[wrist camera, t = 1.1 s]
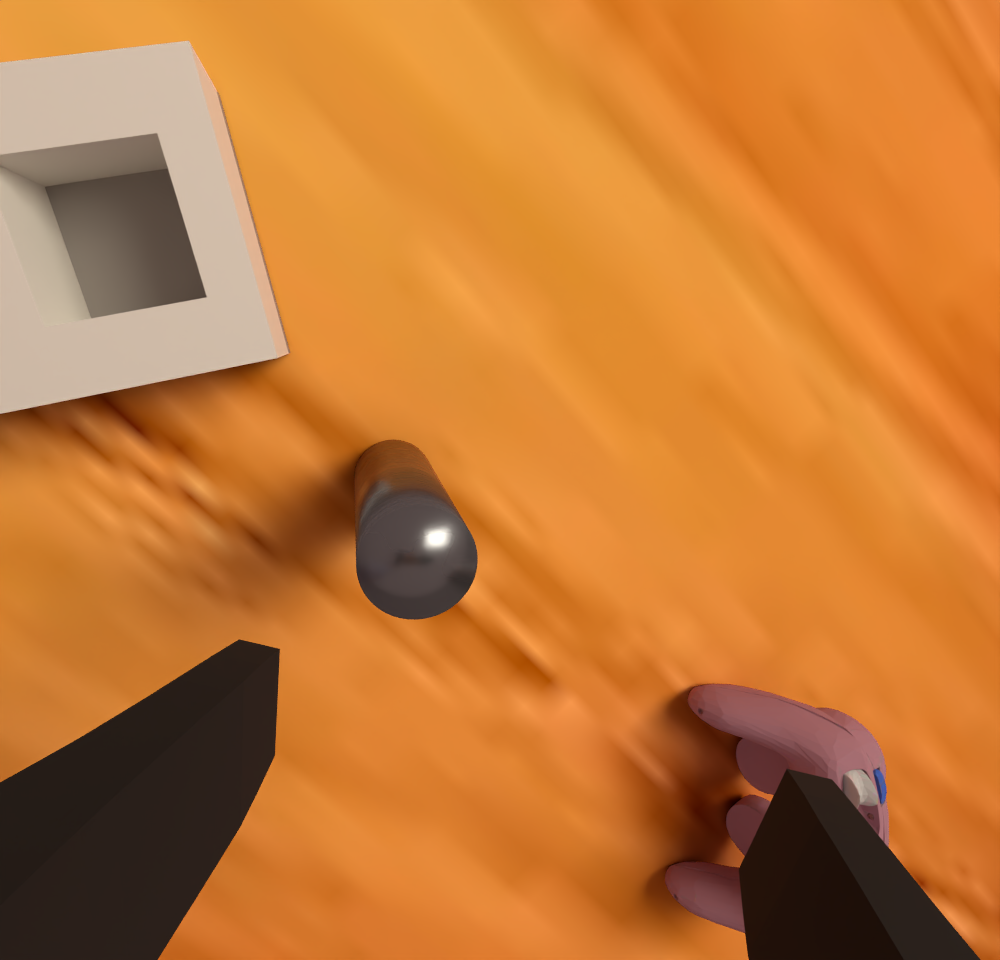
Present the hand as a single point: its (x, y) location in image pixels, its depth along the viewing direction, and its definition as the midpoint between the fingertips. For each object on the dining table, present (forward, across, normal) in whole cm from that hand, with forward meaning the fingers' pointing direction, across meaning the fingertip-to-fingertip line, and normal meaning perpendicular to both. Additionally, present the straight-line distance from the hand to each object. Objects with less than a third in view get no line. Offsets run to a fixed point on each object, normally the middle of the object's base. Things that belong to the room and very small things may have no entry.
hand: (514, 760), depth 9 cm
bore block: (+10, +15, -3) cm, 18 cm away
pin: (+12, +5, +2) cm, 13 cm away
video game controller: (+15, -10, +13) cm, 22 cm away
